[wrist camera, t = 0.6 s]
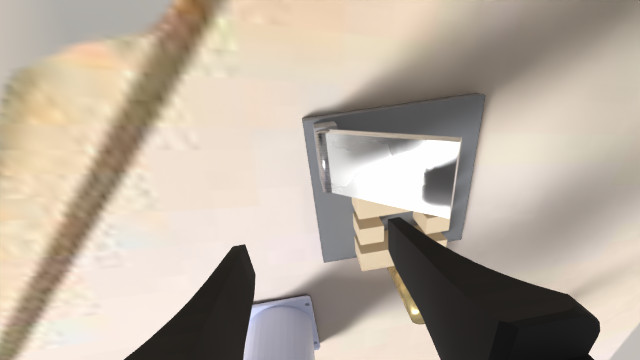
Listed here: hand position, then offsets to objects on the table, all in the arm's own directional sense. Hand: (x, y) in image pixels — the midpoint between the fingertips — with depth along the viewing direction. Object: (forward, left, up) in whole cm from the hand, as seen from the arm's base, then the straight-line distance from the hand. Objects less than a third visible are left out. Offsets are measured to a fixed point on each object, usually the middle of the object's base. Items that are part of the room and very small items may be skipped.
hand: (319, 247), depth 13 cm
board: (-3, -7, -10) cm, 12 cm away
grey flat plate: (+2, -2, -7) cm, 7 cm away
